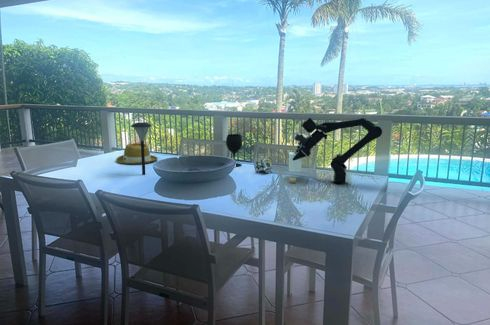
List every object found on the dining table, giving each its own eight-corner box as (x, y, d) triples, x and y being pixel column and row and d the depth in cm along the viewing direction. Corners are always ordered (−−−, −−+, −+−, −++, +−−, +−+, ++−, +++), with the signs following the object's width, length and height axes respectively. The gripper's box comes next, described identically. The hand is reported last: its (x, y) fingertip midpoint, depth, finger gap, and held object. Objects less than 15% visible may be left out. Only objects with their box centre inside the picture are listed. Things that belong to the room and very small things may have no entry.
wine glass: (235, 167, 234) (235, 136, 230) (222, 165, 240) (222, 135, 236) (245, 165, 242) (245, 134, 238) (232, 163, 248) (232, 133, 244)
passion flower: (268, 182, 220) (267, 169, 211) (251, 177, 224) (250, 164, 215) (275, 169, 227) (275, 156, 218) (259, 164, 231) (258, 151, 222)
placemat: (302, 187, 189) (302, 187, 189) (275, 185, 194) (275, 184, 194) (309, 178, 210) (309, 177, 209) (285, 175, 214) (285, 175, 214)
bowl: (296, 183, 196) (297, 178, 196) (290, 183, 195) (290, 179, 195) (294, 182, 200) (294, 177, 199) (288, 182, 199) (288, 177, 198)
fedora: (146, 155, 271) (145, 140, 269) (164, 162, 249) (164, 145, 247) (110, 160, 254) (109, 143, 252) (126, 167, 233) (125, 149, 230)
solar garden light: (157, 172, 219) (155, 122, 213) (150, 177, 207) (148, 124, 201) (137, 171, 220) (135, 121, 214) (129, 176, 208) (126, 123, 202)
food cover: (300, 169, 208) (301, 151, 205) (301, 171, 201) (301, 153, 199) (288, 168, 208) (289, 150, 206) (289, 171, 202) (289, 153, 199)
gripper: (302, 126, 209) (282, 145, 212) (305, 130, 190) (283, 151, 193) (315, 140, 210) (295, 159, 213) (319, 146, 191) (297, 166, 195)
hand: (292, 158), depth 203 cm, fingers closed on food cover, 7 cm apart
